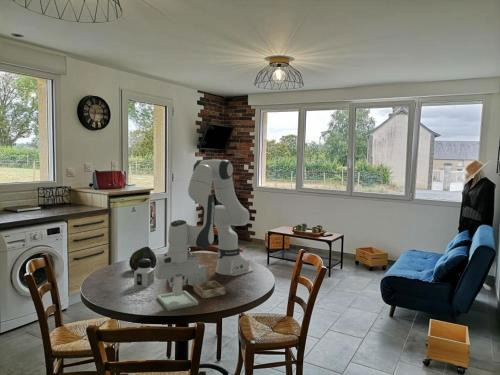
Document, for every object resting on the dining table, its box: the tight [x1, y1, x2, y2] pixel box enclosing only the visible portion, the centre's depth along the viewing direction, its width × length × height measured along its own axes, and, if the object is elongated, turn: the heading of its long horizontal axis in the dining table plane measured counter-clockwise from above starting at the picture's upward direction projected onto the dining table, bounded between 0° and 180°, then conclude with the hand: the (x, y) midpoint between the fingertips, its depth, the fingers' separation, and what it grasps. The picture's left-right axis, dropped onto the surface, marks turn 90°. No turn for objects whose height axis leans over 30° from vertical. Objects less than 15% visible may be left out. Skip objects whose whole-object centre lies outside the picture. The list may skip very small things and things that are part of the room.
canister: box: [172, 274, 183, 296], centre depth 170 cm, size 5×5×10 cm
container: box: [133, 259, 155, 288], centre depth 192 cm, size 8×8×13 cm
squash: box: [128, 246, 158, 271], centre depth 215 cm, size 14×15×15 cm
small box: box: [187, 263, 207, 287], centre depth 193 cm, size 8×6×10 cm
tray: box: [156, 290, 199, 312], centre depth 170 cm, size 14×16×2 cm
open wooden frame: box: [193, 280, 226, 299], centre depth 183 cm, size 12×12×4 cm
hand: (177, 285), depth 170 cm, fingers closed on canister, 4 cm apart
